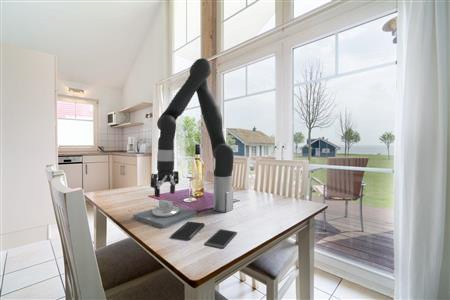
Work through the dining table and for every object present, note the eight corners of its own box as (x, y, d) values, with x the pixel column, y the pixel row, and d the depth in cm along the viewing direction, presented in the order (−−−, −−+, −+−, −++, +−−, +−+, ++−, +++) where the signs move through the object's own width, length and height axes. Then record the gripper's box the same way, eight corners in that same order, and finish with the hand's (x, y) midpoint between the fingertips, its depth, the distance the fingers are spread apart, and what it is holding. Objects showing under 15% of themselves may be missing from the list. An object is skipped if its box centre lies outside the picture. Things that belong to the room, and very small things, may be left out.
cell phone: (203, 246, 73) (203, 243, 73) (220, 230, 86) (220, 228, 86) (223, 250, 70) (223, 248, 70) (237, 233, 83) (237, 231, 83)
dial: (184, 212, 102) (184, 200, 101) (164, 219, 92) (164, 206, 91) (162, 206, 110) (162, 195, 110) (141, 212, 100) (141, 200, 100)
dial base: (196, 214, 103) (196, 211, 103) (163, 228, 86) (163, 224, 86) (167, 207, 114) (167, 204, 114) (133, 218, 97) (133, 214, 97)
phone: (205, 223, 90) (189, 238, 76) (205, 226, 90) (189, 241, 76) (187, 221, 92) (169, 235, 78) (187, 224, 92) (169, 238, 78)
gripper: (158, 161, 91) (157, 199, 92) (182, 159, 103) (182, 193, 104) (147, 160, 95) (146, 196, 96) (172, 158, 107) (171, 191, 108)
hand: (165, 195), depth 100 cm, fingers open, 8 cm apart
